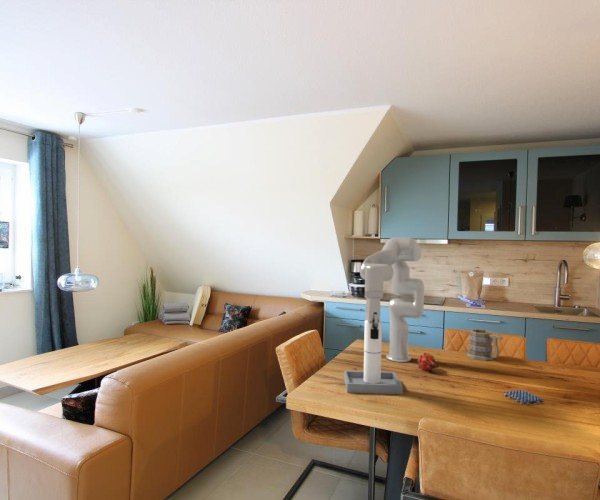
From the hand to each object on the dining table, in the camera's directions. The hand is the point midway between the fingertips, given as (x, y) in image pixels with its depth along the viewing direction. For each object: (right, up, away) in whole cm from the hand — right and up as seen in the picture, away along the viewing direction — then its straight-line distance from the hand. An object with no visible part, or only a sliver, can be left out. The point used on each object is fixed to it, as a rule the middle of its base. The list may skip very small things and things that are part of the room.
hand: (372, 336), depth 161 cm
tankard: (+68, -22, +42) cm, 83 cm away
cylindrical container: (0, -19, 0) cm, 19 cm away
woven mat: (+57, -23, -11) cm, 63 cm away
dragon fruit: (+30, -21, +22) cm, 43 cm away
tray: (0, -21, 0) cm, 21 cm away
